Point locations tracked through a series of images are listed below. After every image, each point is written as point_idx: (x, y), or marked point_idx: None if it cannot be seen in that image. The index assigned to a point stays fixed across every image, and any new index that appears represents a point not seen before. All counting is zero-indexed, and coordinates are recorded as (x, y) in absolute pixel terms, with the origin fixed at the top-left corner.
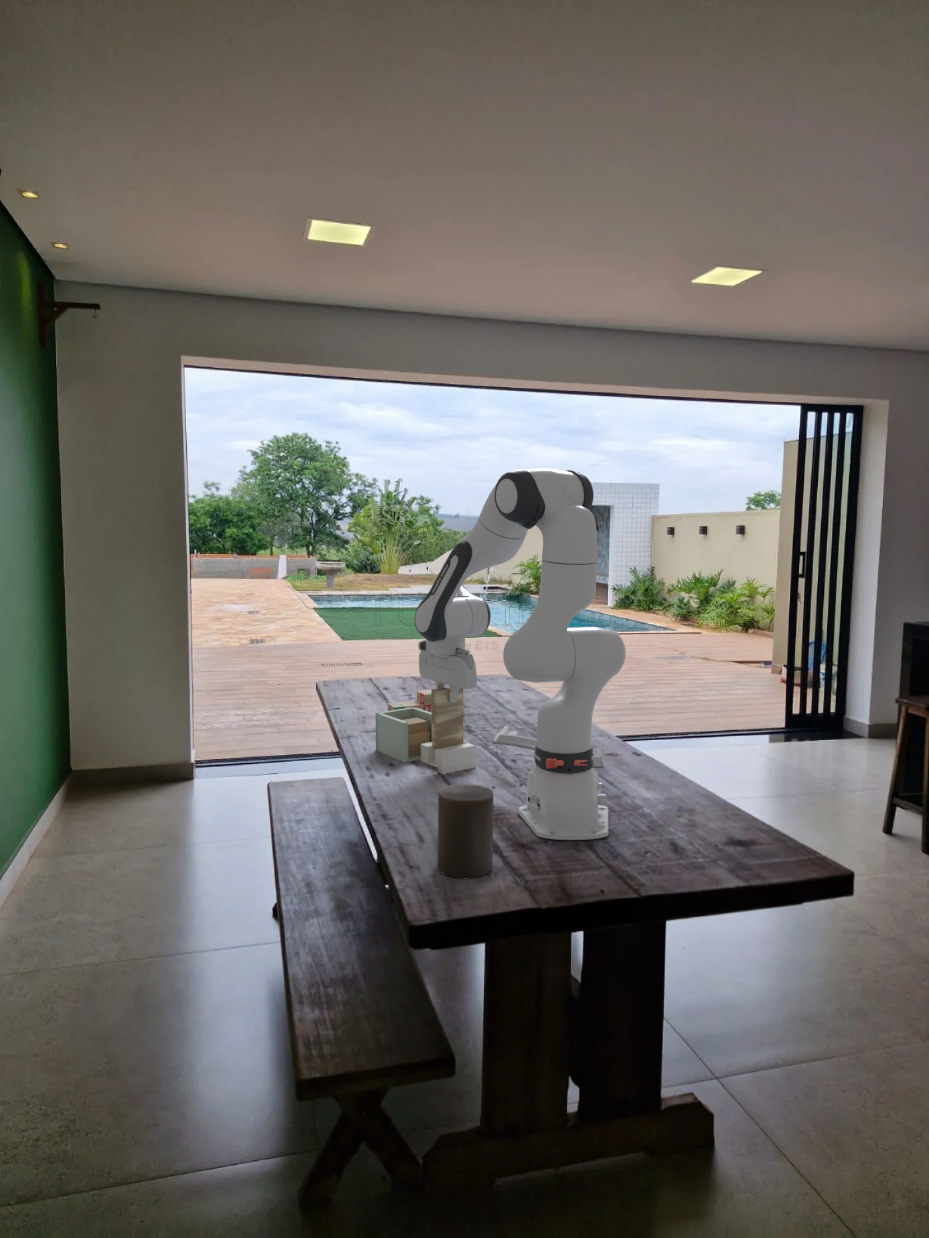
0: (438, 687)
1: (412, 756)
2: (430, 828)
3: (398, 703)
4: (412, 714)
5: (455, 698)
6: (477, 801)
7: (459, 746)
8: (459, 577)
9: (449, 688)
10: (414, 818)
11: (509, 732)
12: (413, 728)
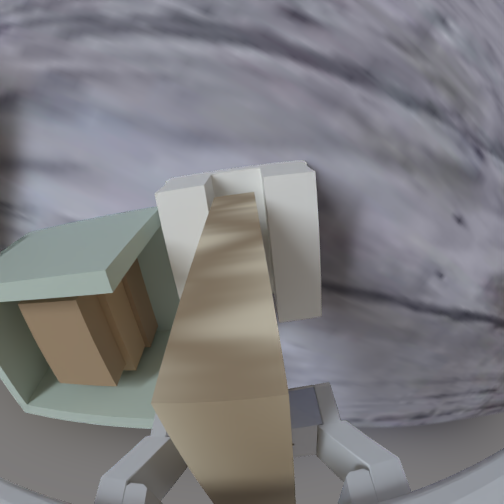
0: (160, 495)
1: (150, 305)
2: (485, 378)
3: None
4: None
5: (335, 406)
6: None
7: (293, 234)
8: None
9: (253, 481)
10: (454, 389)
11: None
12: (108, 348)
